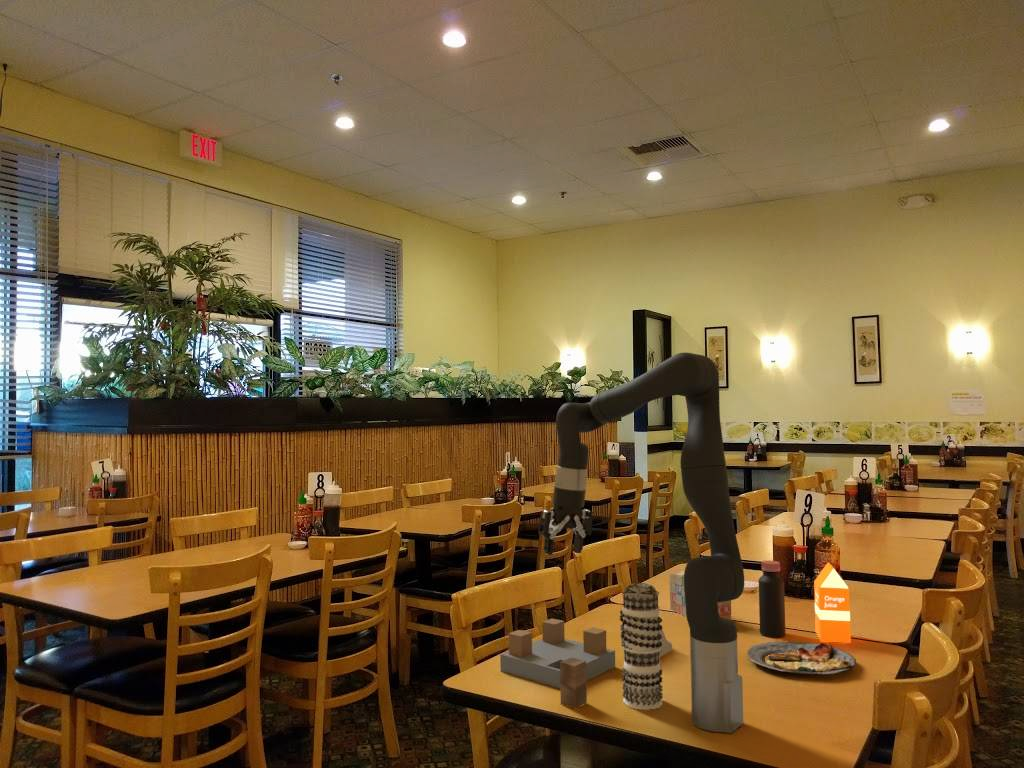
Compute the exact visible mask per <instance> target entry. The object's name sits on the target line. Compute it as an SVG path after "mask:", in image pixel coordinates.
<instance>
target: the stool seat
mask: <svg viewBox="0 0 1024 768" xmlns="http://www.w3.org/2000/svg"><path fill="white" fill-rule="evenodd" d="M541 624H542V627H541V628H542V638H541V639H538V640H535V641H533V633H532V632H530V631H526V630H522V629H517V630H514V631H512V632H509V633H508V651H506V652H503V653H500V665H499V666H500V672H502V673H505V674H509V675H513V676H515V677H519V676H520V678H523V677H524V678H523V679H526V678H527V679H526V680H529V679H530V681H533V680H534V681H533V682H536V681H537V683H539V682H540V684H543V685H546V684H547V686H549V685H551V686H550V687H553V686H554V687H553V688H556V687H557V689H560V690H561V687H560V662H561V661H564V660H566V659H568V658H571V657H572V658H576V659H580V660H584V661H586V682H587V681H589V680H591V679H593V678H595V677H597V676H599V675H601V673H602V674H603V672H604V673H606V672H608V671H610V670H612V669H614V668H616V650H614V649H610V648H607V630H606V629H602V628H598V627H590V628H588V629H585V630H583V631H582V632H583V642H582V641H581V642H580V641H578V640H577V641H576V640H573V639H567V638H565V620H561V619H555V618H553V617H552V618H550V619H547V620H543V621H542V622H541ZM609 669H610V670H609ZM607 670H608V671H607ZM605 671H606V672H605ZM594 676H595V677H594ZM590 678H591V679H590ZM588 679H589V680H588Z"/></svg>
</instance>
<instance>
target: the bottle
mask: <svg viewBox="0 0 1024 768" xmlns="http://www.w3.org/2000/svg"><path fill="white" fill-rule="evenodd" d="M761 571H762V575H761V576H760V577H759V578H758V607H759V608H758V610H759V612H758V613H759V634H761V635H762V636H764V637H768V638H774V637H775V638H777V639H778V638H783V637H785V636H786V607H785V605H786V604H785V603H786V602H785V581H784V579H783V578H782V577H781V575H780V573H781V562H780V561H776V560H763V561H761Z"/></svg>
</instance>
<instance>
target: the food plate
mask: <svg viewBox="0 0 1024 768" xmlns="http://www.w3.org/2000/svg"><path fill="white" fill-rule="evenodd" d="M787 652H794V653H796V654H798V656H797V655H791V654H790V653H789V654H787ZM779 653H782V654H779ZM783 653H784V654H783ZM747 654H748V655H747V656H748V659H749V660H751V662H754V663H756V664H758V665H760V666H762V667H766V668H767V669H768V670H775V671H780V672H788V673H792V674H804V675H805V674H806V675H807V674H809V675H810V676H813V674H815V675H816V674H818V675H838V674H842V673H846V672H849V671H852V669H854V668H856V665H857V660H856V657H854V656H853V655H852V654H850V653H848V652H846V651H844V650H843V649H839V648H838V647H834V645H832V644H829V645H828V644H826V643H824V642H820V644H817V643H814V642H805V641H804V642H802V641H801V642H800V641H786V640H785V641H783V640H782V641H781V640H780V641H779V640H778V641H777V640H776V641H767V642H762V643H761V644H756V645H752V646H751V647H750V648H748V649H747ZM771 654H772V655H771ZM768 655H770V656H768ZM766 656H768V657H766ZM765 657H766V658H767V660H766V662H765V659H766V658H765ZM768 659H769V660H770V661H769V660H768ZM774 661H784V662H774Z"/></svg>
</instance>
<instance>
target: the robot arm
mask: <svg viewBox="0 0 1024 768" xmlns="http://www.w3.org/2000/svg"><path fill="white" fill-rule="evenodd" d="M673 396H681V397H684V398H685V402H686V409H687V418H688V419H687V430H686V434H685V436H684V442H683V446H682V449H681V455H680V462H679V463H680V472H681V482H682V490H683V493H684V495H685V498H686V500H687V501H688V503H689V505H690V506H691V508H692V510H693V511H694V513H695V514H696V516H697V517H698V518H699V520H700V522H701V523H702V524H703V526H704V527H703V528H705V529H704V530H705V531H706V535H707V539H708V542H709V548H710V555H708V556H707V555H706V556H700V557H693V558H691V559H690V560H688V561H687V563H686V564H685V565H686V566H685V568H684V570H683V571H684V592H685V605H686V617H685V618H686V620H687V623H688V627H689V640H690V641H689V646H690V647H689V648H690V649H689V651H690V690H691V695H690V696H691V721H692V723H693V725H695V726H696V727H697V728H700V729H701V730H705V731H709V732H715V733H726V734H732V733H733V732H735V731H736V730H737V729H738V728H740V727H741V726H743V725H744V704H743V703H744V699H743V696H744V693H743V692H744V691H743V689H744V687H743V677H742V676H743V675H740V674H739V667H738V666H739V665H738V664H739V663H738V661H739V659H738V658H739V657H738V627H737V624H736V623H735V621H733V620H732V619H731V620H729V619H726V618H723V617H720V616H719V612H718V602H724V601H730V600H731V601H734V600H736V599H738V598H740V597H741V596H742V594H743V592H744V588H745V573H744V565H743V562H742V556H741V552H740V548H739V544H738V538H737V535H736V530H735V529H736V528H735V524H734V518H733V512H732V505H731V499H730V490H729V489H730V487H729V477H728V469H727V461H726V457H725V449H724V448H725V447H724V440H723V432H722V425H721V412H720V406H721V405H720V376H719V371H718V368H717V365H716V363H715V362H714V361H713V359H711V358H710V357H708V356H706V355H703V354H697V353H692V352H679V353H676V354H674V355H672V356H669V358H667V359H666V360H664V361H662V362H661V363H659V364H658V365H657V366H655V367H652V368H651V369H650V370H648V371H646V372H644V373H643V374H641V375H639V376H637V377H635V378H633V379H630V380H628V381H627V382H625V383H622V384H619V385H617V386H615V387H611V388H609V389H607V390H604V391H601V392H598V393H597V394H596V395H594V396H593V397H592V398H591V400H590V401H589V402H584V403H581V402H566V403H563V404H562V405H561V406H560V408H559V409H558V411H557V414H556V419H555V425H556V434H557V442H558V446H559V447H558V449H559V452H558V458H557V459H558V460H557V466H556V467H557V468H556V470H555V477H554V478H555V479H554V487H553V497H552V504H553V508H552V510H547V509H543V508H542V509H541V512H540V519H539V525H538V530H537V533H538V535H540V536H542V537H544V543H543V544H544V545H543V550H544V554H546V555H548V556H549V555H553V554H554V553H553V552H554V543H555V539H554V538H555V536H557V534H558V533H561V531H562V530H567V529H570V530H573V532H574V534H575V536H574V539H573V548H572V551H573V553H576V554H581V553H582V551H583V548H584V539H585V538H586V536H591V535H592V532H593V531H592V530H593V516H594V513H593V510H590V509H588V508H584V506H585V500H586V491H587V482H588V481H587V480H588V463H589V462H588V461H589V447H588V445H587V444H585V443H582V441H581V435H580V433H581V434H582V433H590V432H594V431H595V430H598V429H599V428H602V427H603V426H605V425H606V424H607V423H609V422H612V421H617V420H619V419H621V418H625V417H626V416H628V415H631V414H633V413H634V412H635V413H636V412H637V411H638V410H640V409H641V408H642V407H644V406H645V405H646V404H648V403H650V402H652V401H654V400H658V399H661V398H666V397H667V398H668V397H673ZM581 519H582V520H581ZM580 520H581V521H580Z"/></svg>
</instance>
